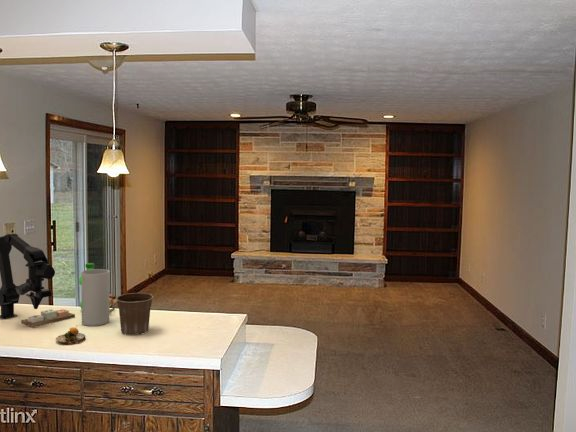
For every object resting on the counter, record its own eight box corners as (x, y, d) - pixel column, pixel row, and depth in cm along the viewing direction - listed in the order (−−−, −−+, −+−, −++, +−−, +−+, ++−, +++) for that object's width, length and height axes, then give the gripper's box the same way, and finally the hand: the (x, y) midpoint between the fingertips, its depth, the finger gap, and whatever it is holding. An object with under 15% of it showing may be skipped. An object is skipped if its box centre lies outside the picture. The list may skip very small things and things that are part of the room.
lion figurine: (110, 316, 252) (110, 298, 251) (99, 316, 251) (99, 298, 250) (115, 308, 266) (115, 291, 266) (105, 308, 266) (105, 291, 265)
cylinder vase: (104, 317, 249) (104, 268, 247) (112, 323, 240) (112, 272, 237) (78, 321, 242) (78, 270, 240) (86, 328, 232) (85, 275, 230)
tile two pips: (40, 317, 241) (40, 311, 241) (50, 315, 245) (50, 308, 245) (46, 319, 238) (46, 312, 238) (56, 317, 242) (56, 310, 242)
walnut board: (21, 323, 236) (21, 320, 236) (63, 313, 254) (63, 310, 253) (32, 327, 230) (32, 324, 230) (74, 317, 248) (74, 314, 248)
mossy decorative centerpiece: (66, 335, 222) (66, 319, 221) (91, 337, 220) (91, 321, 219) (49, 344, 210) (49, 327, 209) (75, 347, 208) (74, 329, 207)
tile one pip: (27, 323, 236) (27, 316, 236) (37, 320, 240) (37, 314, 240) (33, 325, 233) (33, 318, 233) (43, 322, 237) (43, 316, 237)
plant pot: (142, 338, 220) (142, 302, 218) (109, 335, 223) (109, 299, 222) (158, 327, 236) (159, 294, 234) (127, 324, 239) (127, 291, 238)
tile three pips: (53, 317, 247) (53, 310, 246) (63, 314, 251) (62, 308, 250) (59, 318, 244) (59, 312, 244) (68, 316, 248) (68, 310, 248)
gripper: (7, 276, 233) (8, 309, 234) (29, 282, 223) (29, 316, 224) (31, 272, 242) (31, 304, 244) (52, 278, 232) (53, 311, 233)
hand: (35, 308), depth 236 cm, fingers closed
